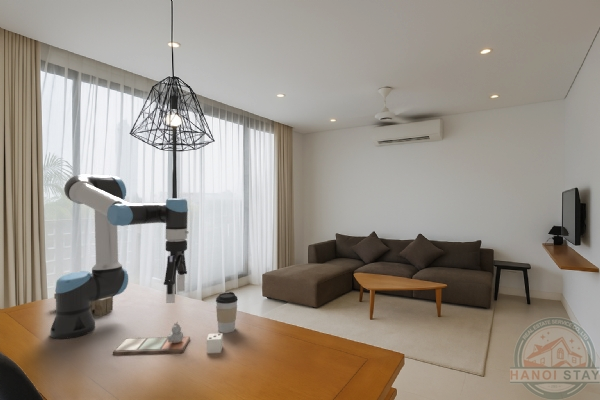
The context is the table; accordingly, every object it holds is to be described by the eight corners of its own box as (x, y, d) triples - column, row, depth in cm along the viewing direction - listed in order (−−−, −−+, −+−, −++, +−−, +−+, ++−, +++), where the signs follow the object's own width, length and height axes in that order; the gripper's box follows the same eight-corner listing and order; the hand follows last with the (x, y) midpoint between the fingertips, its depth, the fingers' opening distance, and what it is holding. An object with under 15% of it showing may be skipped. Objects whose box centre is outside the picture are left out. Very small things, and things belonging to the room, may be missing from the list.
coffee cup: (226, 335, 132) (226, 298, 132) (210, 330, 137) (211, 294, 136) (241, 328, 139) (242, 293, 139) (226, 323, 144) (226, 289, 144)
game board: (112, 354, 115) (112, 351, 115) (126, 340, 126) (126, 337, 126) (182, 352, 117) (182, 349, 117) (190, 339, 128) (190, 336, 128)
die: (206, 353, 117) (206, 339, 117) (208, 347, 122) (208, 333, 122) (220, 352, 118) (220, 338, 118) (222, 346, 123) (222, 333, 123)
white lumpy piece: (187, 341, 124) (187, 320, 124) (172, 348, 118) (173, 326, 118) (177, 338, 126) (177, 317, 126) (162, 344, 121) (162, 323, 121)
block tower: (115, 312, 159) (69, 304, 167) (115, 295, 158) (69, 287, 166) (101, 318, 151) (53, 309, 159) (101, 300, 151) (54, 292, 159)
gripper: (177, 245, 110) (177, 307, 110) (194, 235, 135) (193, 286, 135) (154, 245, 109) (153, 308, 109) (175, 235, 134) (175, 287, 134)
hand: (175, 296), depth 122 cm, fingers open, 13 cm apart
